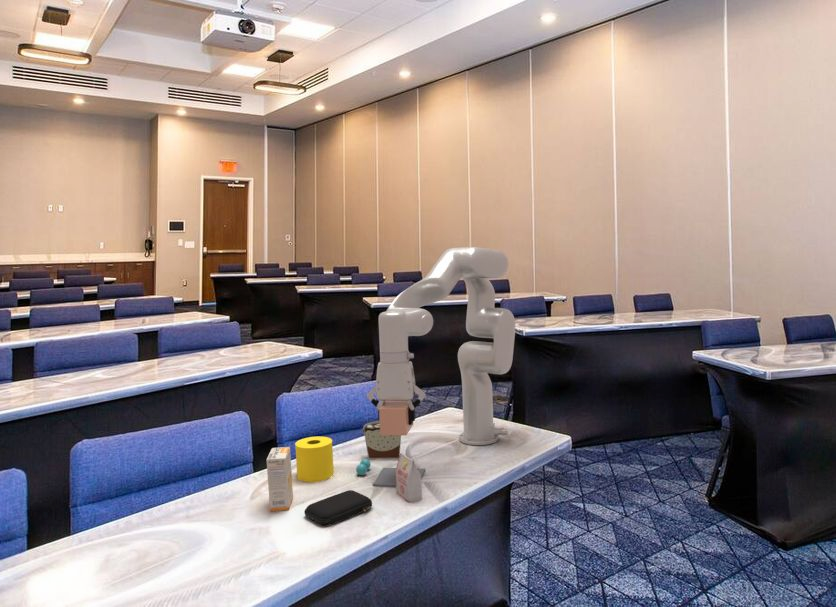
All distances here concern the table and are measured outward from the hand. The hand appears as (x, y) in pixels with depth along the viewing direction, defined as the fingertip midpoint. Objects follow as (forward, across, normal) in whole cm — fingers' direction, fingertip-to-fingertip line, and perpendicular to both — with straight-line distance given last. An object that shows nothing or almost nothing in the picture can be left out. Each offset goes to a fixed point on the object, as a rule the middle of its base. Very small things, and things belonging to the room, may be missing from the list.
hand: (396, 422), depth 158 cm
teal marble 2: (+15, +11, -2) cm, 19 cm away
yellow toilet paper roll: (+16, +24, -1) cm, 29 cm away
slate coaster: (+15, 0, 0) cm, 15 cm away
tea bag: (+16, -5, +11) cm, 20 cm away
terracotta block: (+2, 0, 0) cm, 2 cm away
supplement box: (+16, +26, +18) cm, 35 cm away
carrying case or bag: (+16, +10, +22) cm, 29 cm away
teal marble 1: (+15, +11, -6) cm, 20 cm away
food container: (+15, +8, -18) cm, 25 cm away
